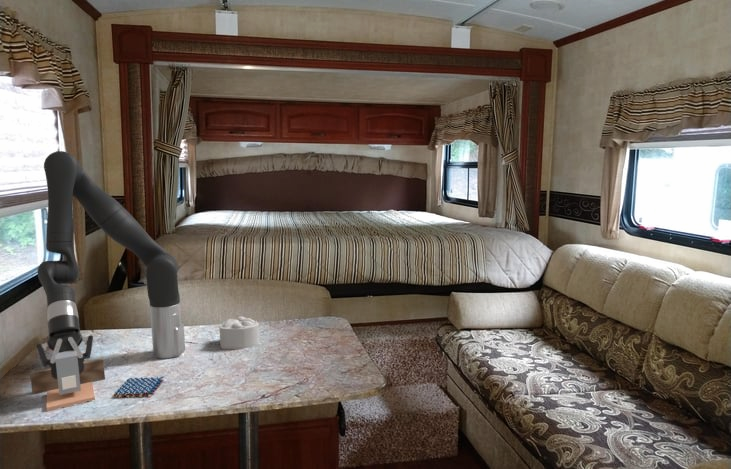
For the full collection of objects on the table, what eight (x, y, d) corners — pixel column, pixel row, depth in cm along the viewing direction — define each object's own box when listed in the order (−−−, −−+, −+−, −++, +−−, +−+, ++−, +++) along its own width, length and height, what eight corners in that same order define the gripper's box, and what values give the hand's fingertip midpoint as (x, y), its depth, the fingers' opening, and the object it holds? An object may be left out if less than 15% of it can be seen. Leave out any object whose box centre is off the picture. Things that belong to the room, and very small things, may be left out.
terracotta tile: (92, 384, 145) (91, 381, 145) (95, 400, 136) (94, 396, 136) (47, 394, 139) (46, 391, 139) (46, 411, 130) (46, 407, 130)
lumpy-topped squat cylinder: (225, 338, 182) (223, 315, 180) (261, 337, 183) (260, 314, 181) (218, 349, 171) (217, 325, 170) (257, 348, 172) (256, 324, 171)
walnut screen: (104, 377, 150) (103, 358, 149) (105, 379, 149) (103, 359, 148) (32, 392, 141) (30, 372, 140) (32, 394, 140) (30, 373, 139)
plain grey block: (79, 383, 141) (76, 349, 139) (80, 390, 136) (77, 355, 135) (59, 387, 138) (55, 353, 136) (59, 395, 134) (55, 359, 132)
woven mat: (127, 383, 147) (127, 376, 147) (164, 382, 148) (164, 375, 148) (112, 400, 137) (111, 393, 137) (152, 399, 138) (151, 392, 137)
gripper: (31, 318, 137) (35, 376, 129) (91, 309, 144) (98, 363, 136) (34, 331, 142) (38, 387, 134) (92, 322, 150) (98, 375, 141)
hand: (68, 375), depth 135 cm, fingers closed on plain grey block, 5 cm apart
